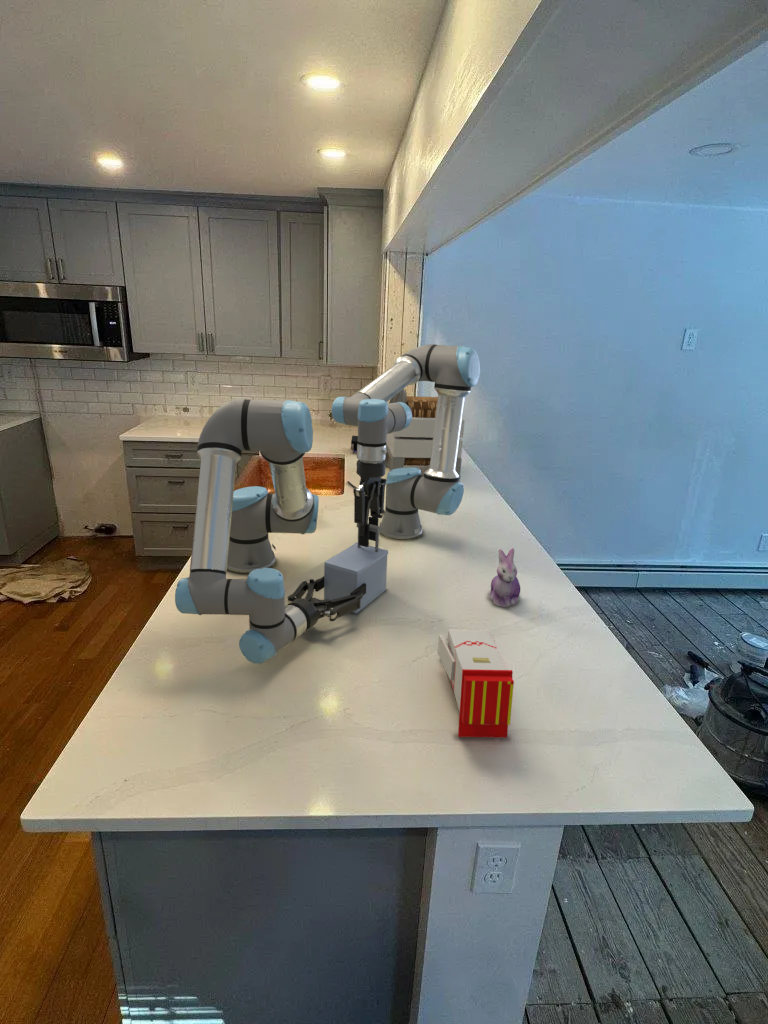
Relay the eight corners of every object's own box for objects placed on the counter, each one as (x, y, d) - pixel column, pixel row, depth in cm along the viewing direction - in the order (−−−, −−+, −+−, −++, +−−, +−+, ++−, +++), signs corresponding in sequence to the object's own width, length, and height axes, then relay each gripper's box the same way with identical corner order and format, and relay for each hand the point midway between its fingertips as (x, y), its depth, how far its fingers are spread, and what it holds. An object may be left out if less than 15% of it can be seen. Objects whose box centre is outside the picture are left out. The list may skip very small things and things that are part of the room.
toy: (488, 613, 130) (523, 677, 101) (484, 667, 133) (517, 744, 104) (435, 612, 130) (455, 676, 101) (432, 666, 133) (451, 743, 103)
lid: (357, 545, 161) (357, 517, 158) (388, 553, 156) (389, 525, 153) (324, 565, 147) (324, 535, 145) (357, 575, 143) (358, 544, 140)
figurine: (502, 611, 151) (509, 560, 146) (479, 594, 159) (485, 545, 154) (530, 604, 155) (537, 554, 150) (506, 588, 163) (512, 540, 158)
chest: (355, 581, 164) (356, 546, 161) (385, 590, 160) (387, 554, 156) (323, 603, 151) (324, 565, 147) (356, 613, 147) (357, 575, 143)
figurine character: (362, 457, 305) (363, 447, 318) (362, 443, 301) (363, 434, 315) (350, 456, 304) (351, 447, 318) (350, 443, 301) (351, 434, 314)
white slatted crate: (382, 463, 289) (386, 382, 275) (445, 464, 293) (451, 384, 279) (390, 482, 257) (394, 392, 243) (460, 483, 261) (468, 394, 247)
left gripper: (258, 619, 138) (312, 584, 156) (336, 648, 128) (384, 607, 146) (257, 591, 135) (312, 559, 154) (336, 618, 125) (385, 580, 143)
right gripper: (366, 469, 139) (363, 556, 147) (399, 455, 153) (395, 536, 161) (340, 464, 142) (339, 550, 150) (375, 451, 156) (372, 530, 164)
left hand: (347, 582), depth 150 cm, fingers closed on chest, 10 cm apart
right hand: (368, 542), depth 155 cm, fingers open, 4 cm apart
